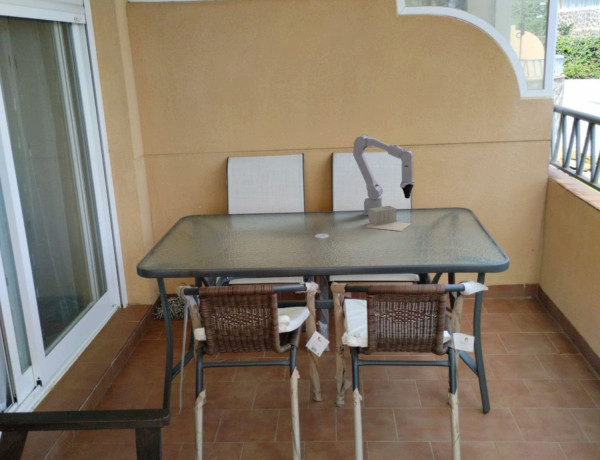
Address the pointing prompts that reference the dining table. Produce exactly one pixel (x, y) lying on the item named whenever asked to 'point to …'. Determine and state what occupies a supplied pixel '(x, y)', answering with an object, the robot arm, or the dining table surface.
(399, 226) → the mat
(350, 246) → the dining table surface
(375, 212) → the supplement box
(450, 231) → the dining table surface
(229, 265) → the dining table surface
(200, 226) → the dining table surface
